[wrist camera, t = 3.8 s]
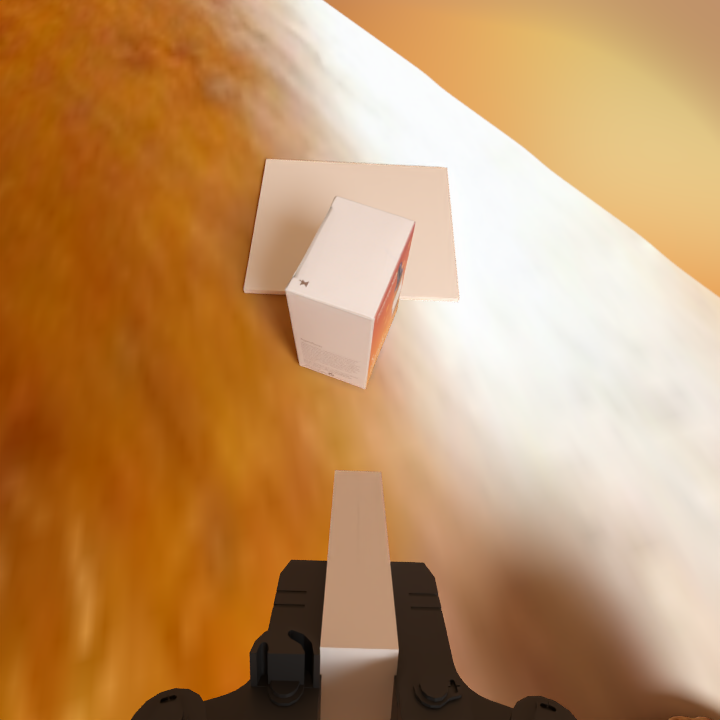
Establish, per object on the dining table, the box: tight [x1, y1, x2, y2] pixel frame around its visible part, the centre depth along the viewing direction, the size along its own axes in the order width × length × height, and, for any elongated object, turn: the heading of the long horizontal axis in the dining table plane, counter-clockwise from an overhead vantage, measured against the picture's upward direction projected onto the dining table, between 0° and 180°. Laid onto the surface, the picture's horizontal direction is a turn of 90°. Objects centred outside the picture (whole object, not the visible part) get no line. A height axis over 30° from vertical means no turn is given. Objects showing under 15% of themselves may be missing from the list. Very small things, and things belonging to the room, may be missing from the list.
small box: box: [285, 196, 416, 389], centre depth 32 cm, size 8×6×10 cm
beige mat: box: [244, 159, 459, 302], centre depth 43 cm, size 16×18×1 cm
